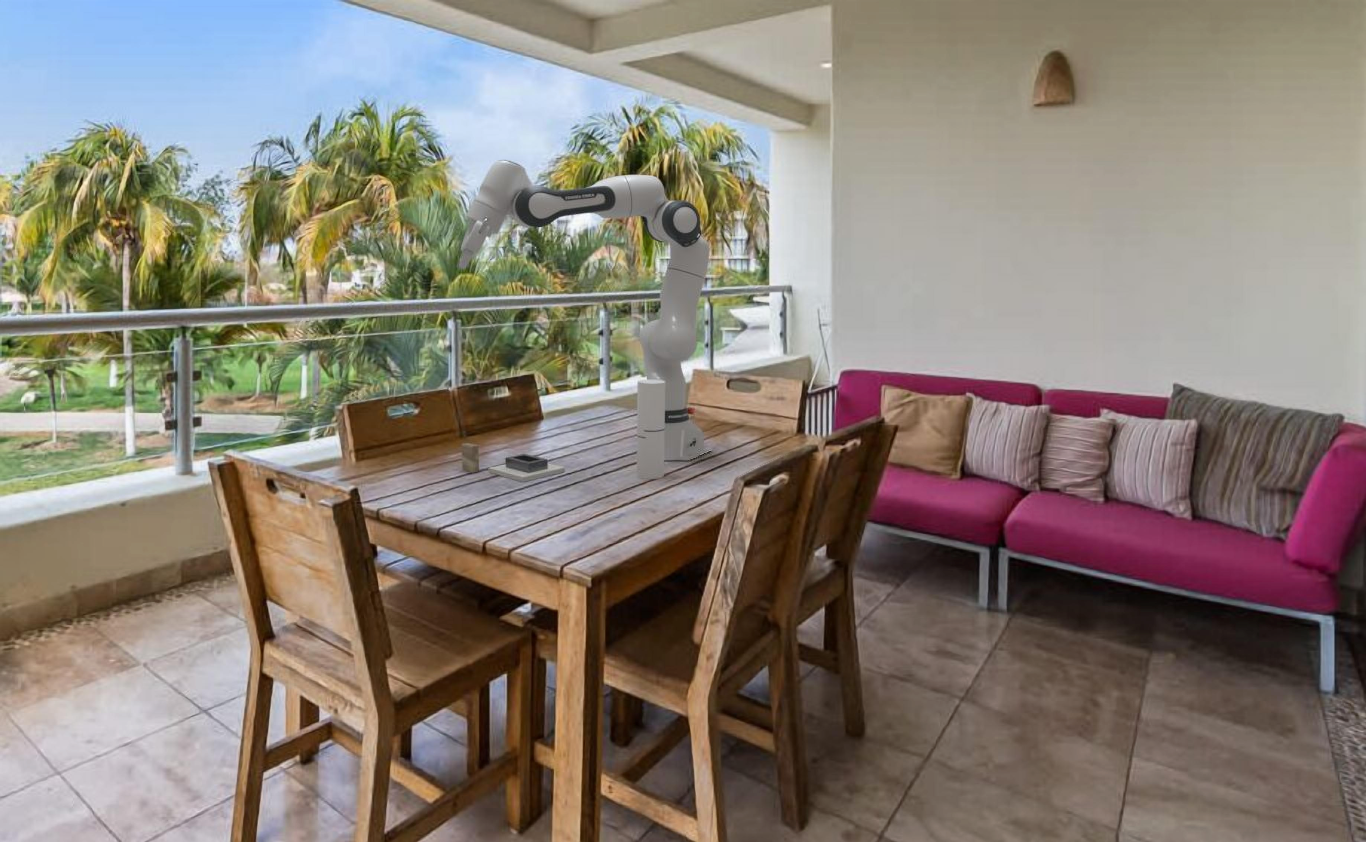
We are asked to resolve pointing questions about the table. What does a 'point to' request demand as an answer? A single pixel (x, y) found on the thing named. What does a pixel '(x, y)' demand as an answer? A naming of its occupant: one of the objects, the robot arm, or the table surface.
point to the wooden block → (470, 457)
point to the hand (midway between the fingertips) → (460, 268)
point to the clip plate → (525, 476)
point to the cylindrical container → (650, 428)
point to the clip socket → (526, 463)
